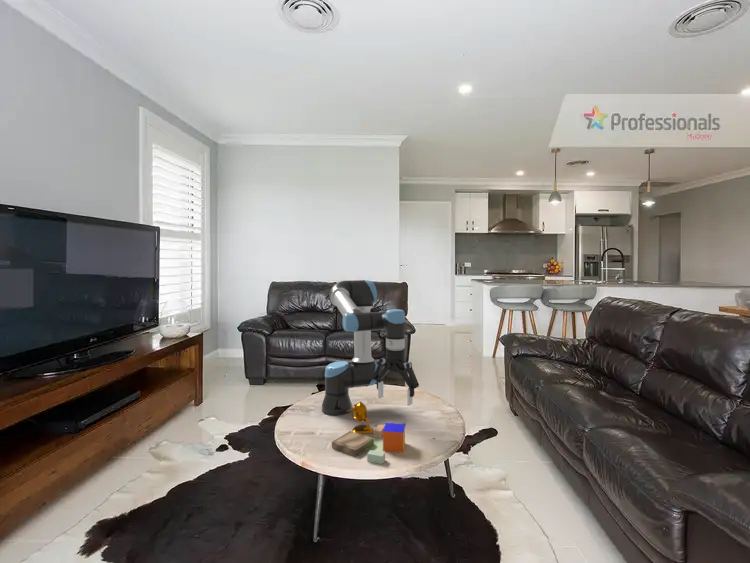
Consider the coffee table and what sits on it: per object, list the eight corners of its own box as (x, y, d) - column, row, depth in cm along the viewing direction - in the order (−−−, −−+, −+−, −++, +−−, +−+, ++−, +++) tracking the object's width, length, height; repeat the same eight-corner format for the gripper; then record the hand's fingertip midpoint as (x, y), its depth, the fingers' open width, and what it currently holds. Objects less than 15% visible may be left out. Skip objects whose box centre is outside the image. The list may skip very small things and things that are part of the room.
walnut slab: (331, 447, 155) (331, 441, 155) (350, 436, 165) (350, 430, 165) (355, 456, 149) (355, 449, 148) (373, 444, 158) (373, 437, 158)
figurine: (354, 424, 178) (354, 398, 177) (376, 428, 174) (376, 401, 173) (346, 431, 170) (346, 405, 169) (368, 436, 166) (368, 408, 165)
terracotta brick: (380, 438, 164) (380, 431, 164) (373, 437, 165) (373, 430, 165) (385, 432, 170) (385, 425, 170) (379, 431, 171) (379, 424, 171)
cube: (405, 443, 160) (405, 424, 159) (403, 452, 152) (403, 432, 151) (385, 441, 161) (385, 422, 161) (383, 450, 153) (383, 431, 153)
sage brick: (367, 461, 145) (367, 453, 145) (370, 457, 148) (370, 450, 148) (382, 464, 143) (382, 456, 143) (384, 460, 146) (385, 452, 146)
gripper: (364, 346, 158) (364, 397, 159) (418, 354, 144) (418, 410, 145) (374, 343, 164) (374, 392, 166) (427, 350, 151) (427, 404, 152)
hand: (394, 401), depth 156 cm, fingers open, 13 cm apart
